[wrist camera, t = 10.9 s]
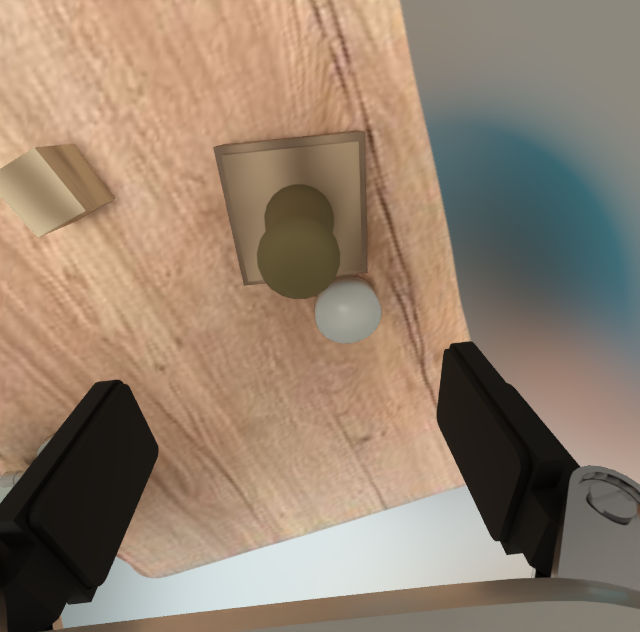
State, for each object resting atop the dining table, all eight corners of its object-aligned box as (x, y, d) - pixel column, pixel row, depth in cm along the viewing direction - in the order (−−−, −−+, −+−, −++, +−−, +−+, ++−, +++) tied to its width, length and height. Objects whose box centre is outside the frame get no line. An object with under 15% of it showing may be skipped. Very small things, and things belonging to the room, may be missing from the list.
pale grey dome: (317, 332, 40) (318, 346, 37) (311, 277, 36) (312, 289, 34) (376, 325, 40) (381, 339, 37) (375, 271, 36) (381, 282, 34)
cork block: (73, 222, 32) (38, 237, 28) (30, 171, 30) (-16, 179, 25) (115, 198, 31) (85, 210, 27) (74, 144, 29) (34, 147, 25)
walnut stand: (248, 271, 35) (243, 288, 32) (221, 144, 29) (211, 147, 26) (361, 260, 35) (368, 275, 32) (358, 130, 29) (366, 131, 26)
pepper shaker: (348, 220, 29) (371, 267, 20) (300, 267, 31) (300, 330, 22) (298, 167, 27) (297, 191, 17) (249, 221, 29) (224, 269, 19)
